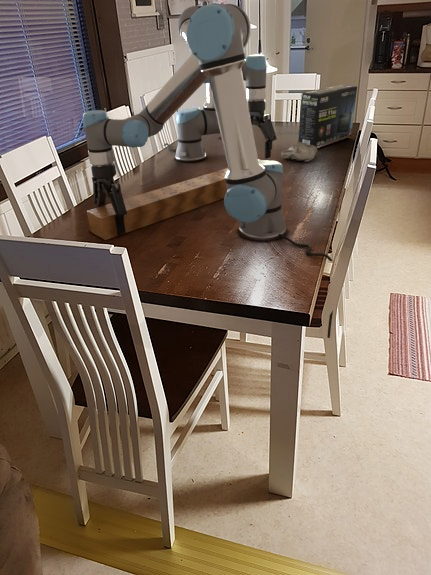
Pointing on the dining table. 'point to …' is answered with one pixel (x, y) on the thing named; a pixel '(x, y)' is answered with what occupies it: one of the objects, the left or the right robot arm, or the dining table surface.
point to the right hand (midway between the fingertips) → (113, 229)
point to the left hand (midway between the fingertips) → (255, 155)
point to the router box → (326, 114)
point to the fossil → (300, 152)
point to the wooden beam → (159, 204)
